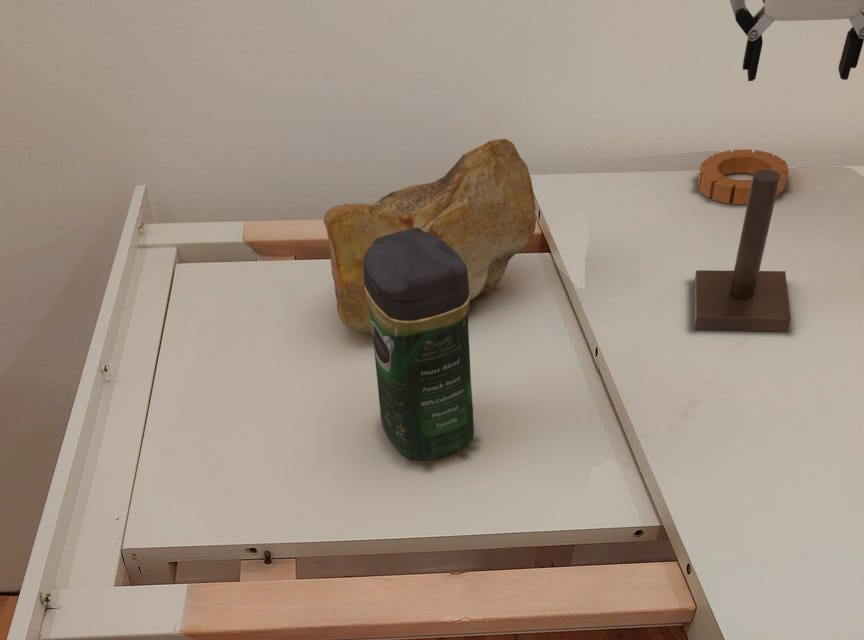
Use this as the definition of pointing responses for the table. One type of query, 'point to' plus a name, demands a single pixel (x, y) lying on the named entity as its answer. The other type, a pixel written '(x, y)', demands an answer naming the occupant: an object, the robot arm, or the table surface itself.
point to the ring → (737, 162)
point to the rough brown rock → (440, 223)
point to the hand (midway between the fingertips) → (796, 75)
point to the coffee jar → (421, 343)
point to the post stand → (746, 275)
